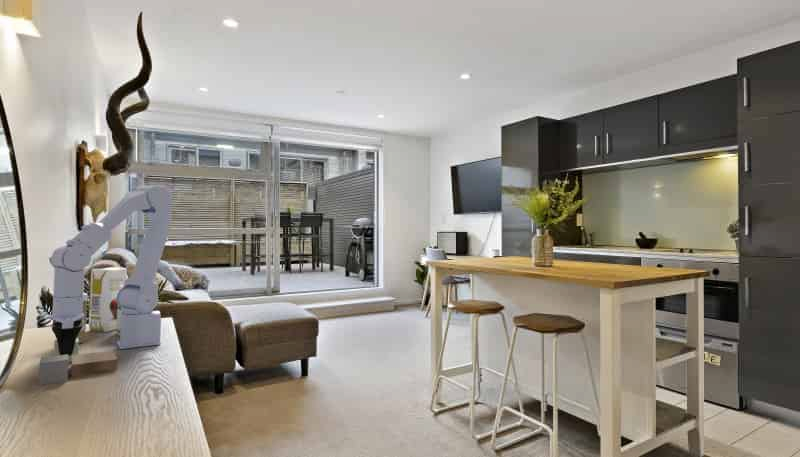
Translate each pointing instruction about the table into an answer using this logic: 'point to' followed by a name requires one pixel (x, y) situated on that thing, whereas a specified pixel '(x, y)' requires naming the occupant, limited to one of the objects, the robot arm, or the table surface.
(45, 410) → the table surface
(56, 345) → the sage block
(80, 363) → the walnut block
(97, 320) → the juice carton
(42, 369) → the grey block
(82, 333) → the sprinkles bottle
